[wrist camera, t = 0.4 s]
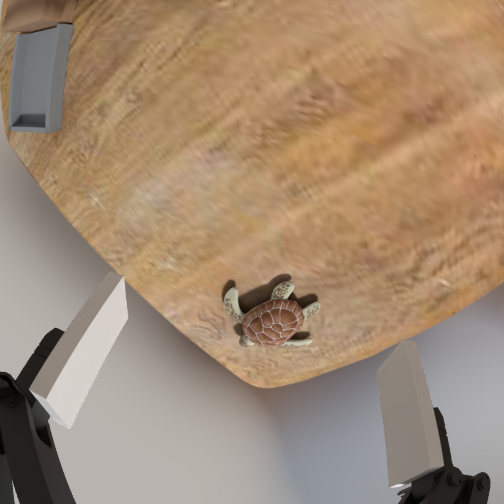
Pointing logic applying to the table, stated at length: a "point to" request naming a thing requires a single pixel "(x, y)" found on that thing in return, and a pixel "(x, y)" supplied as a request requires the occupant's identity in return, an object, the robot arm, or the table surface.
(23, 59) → the tray
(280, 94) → the table surface
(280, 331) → the decorative turtle
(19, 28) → the brown block
